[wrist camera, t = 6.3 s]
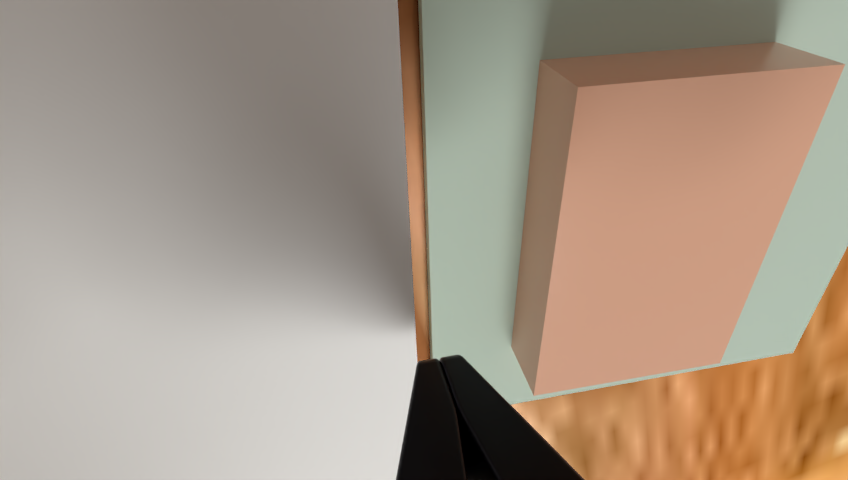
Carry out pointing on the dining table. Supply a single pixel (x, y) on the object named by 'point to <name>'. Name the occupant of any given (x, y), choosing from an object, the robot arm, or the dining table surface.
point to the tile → (655, 204)
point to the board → (203, 240)
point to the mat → (511, 146)
